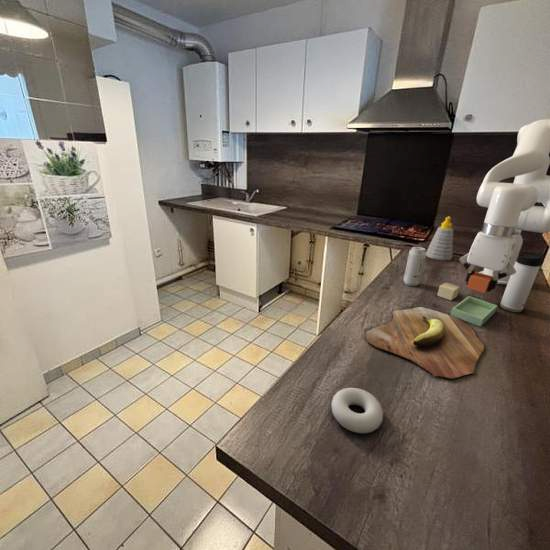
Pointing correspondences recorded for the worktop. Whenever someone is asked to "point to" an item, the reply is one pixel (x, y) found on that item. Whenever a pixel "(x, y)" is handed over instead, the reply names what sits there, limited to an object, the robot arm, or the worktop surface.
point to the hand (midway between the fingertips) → (479, 286)
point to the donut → (355, 420)
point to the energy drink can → (414, 266)
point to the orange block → (479, 282)
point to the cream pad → (448, 291)
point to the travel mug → (521, 281)
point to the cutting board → (430, 341)
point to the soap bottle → (442, 242)
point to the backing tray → (474, 310)
